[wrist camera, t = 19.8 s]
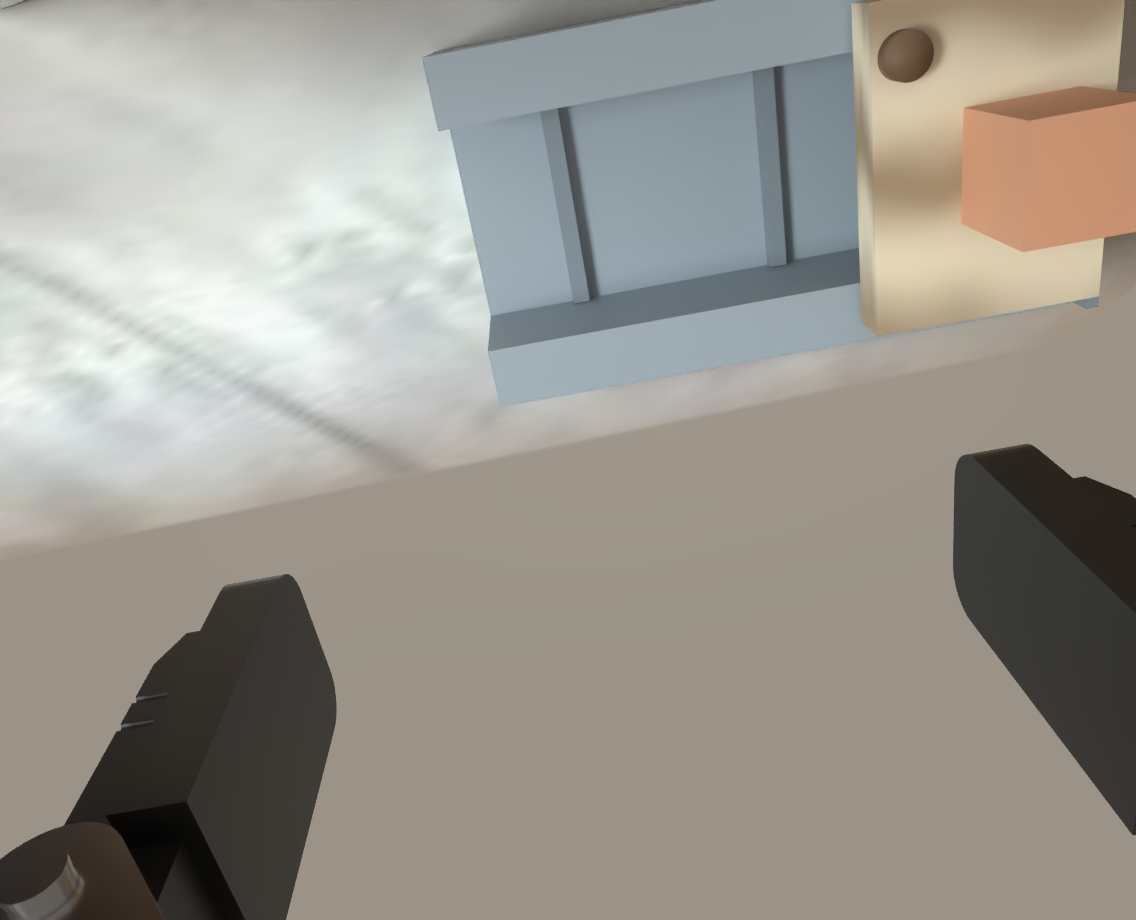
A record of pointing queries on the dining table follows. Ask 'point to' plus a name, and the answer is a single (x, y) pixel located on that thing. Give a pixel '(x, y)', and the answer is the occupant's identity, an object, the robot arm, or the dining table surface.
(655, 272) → the stand
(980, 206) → the block
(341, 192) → the dining table surface
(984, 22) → the lid
